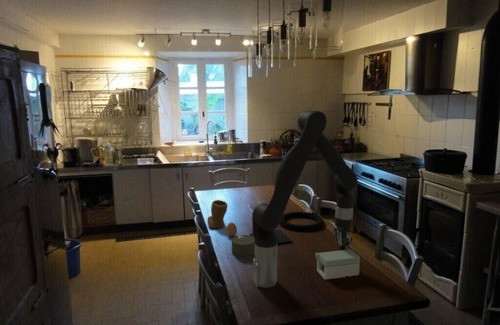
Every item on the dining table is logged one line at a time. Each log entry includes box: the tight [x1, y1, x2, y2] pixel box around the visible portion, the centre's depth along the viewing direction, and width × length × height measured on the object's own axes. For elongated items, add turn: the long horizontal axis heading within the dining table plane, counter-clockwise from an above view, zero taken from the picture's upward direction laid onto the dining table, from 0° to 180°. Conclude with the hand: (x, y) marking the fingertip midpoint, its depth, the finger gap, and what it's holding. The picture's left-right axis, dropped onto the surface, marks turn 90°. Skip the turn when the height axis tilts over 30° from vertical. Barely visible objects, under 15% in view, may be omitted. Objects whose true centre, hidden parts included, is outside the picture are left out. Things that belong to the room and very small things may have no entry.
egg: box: [225, 221, 238, 237], centre depth 194 cm, size 6×6×8 cm
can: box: [230, 234, 255, 259], centre depth 174 cm, size 12×12×7 cm
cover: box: [314, 248, 361, 267], centre depth 154 cm, size 17×9×2 cm, turn 104°
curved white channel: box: [316, 259, 361, 280], centre depth 154 cm, size 16×8×6 cm, turn 104°
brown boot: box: [207, 199, 228, 229], centre depth 211 cm, size 15×12×15 cm
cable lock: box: [279, 211, 325, 232], centre depth 216 cm, size 28×4×30 cm
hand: (341, 252), depth 160 cm, fingers closed
